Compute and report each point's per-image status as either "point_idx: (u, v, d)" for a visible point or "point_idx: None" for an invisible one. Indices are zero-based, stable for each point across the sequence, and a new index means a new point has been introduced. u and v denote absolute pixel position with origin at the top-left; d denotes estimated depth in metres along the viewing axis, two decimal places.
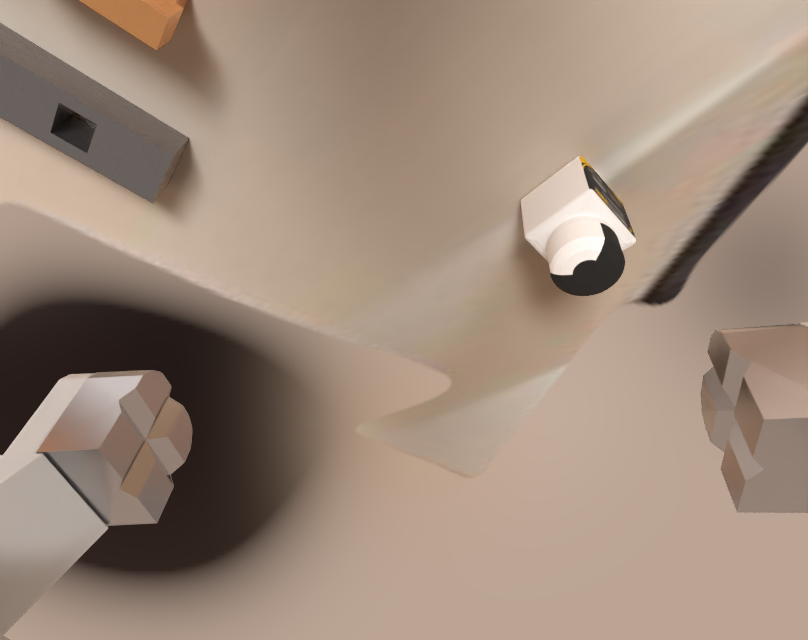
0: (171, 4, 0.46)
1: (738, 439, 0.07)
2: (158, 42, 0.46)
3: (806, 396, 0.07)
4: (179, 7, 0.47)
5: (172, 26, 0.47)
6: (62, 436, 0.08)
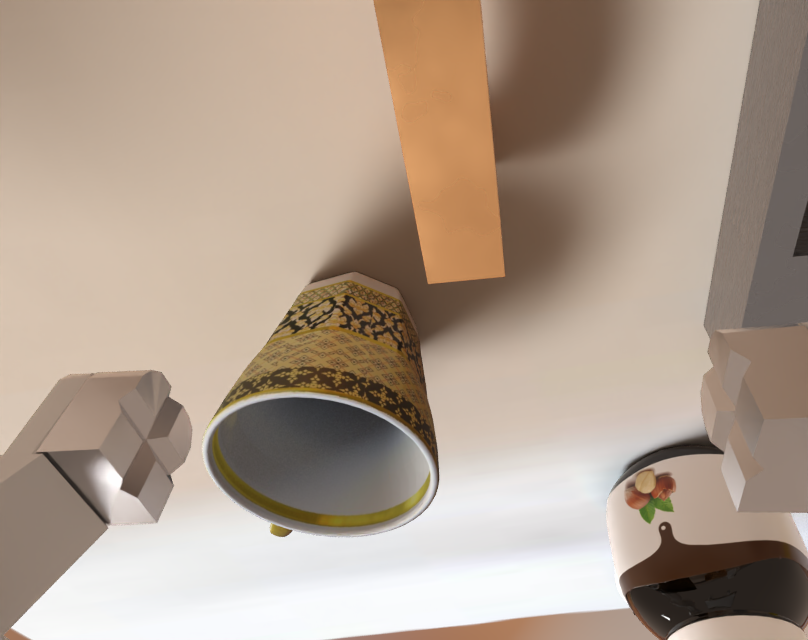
0: None
1: (738, 439, 0.07)
2: None
3: (806, 396, 0.07)
4: None
5: None
6: (63, 436, 0.08)
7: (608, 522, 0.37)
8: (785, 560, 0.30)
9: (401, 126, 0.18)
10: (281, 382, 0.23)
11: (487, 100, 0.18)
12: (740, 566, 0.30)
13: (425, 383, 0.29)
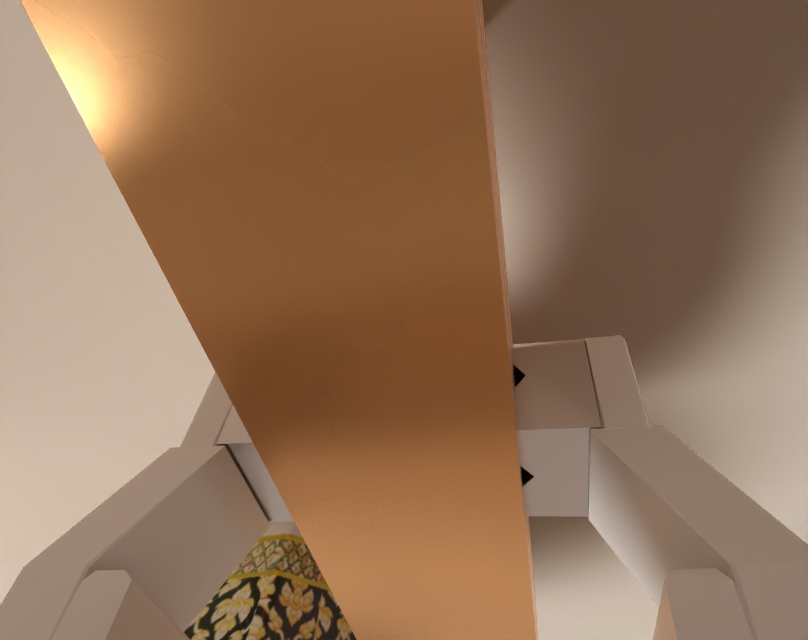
0: None
1: None
2: None
3: (559, 409, 0.07)
4: None
5: None
6: (242, 427, 0.08)
7: None
8: None
9: (315, 545, 0.08)
10: None
11: (521, 525, 0.07)
12: None
13: None
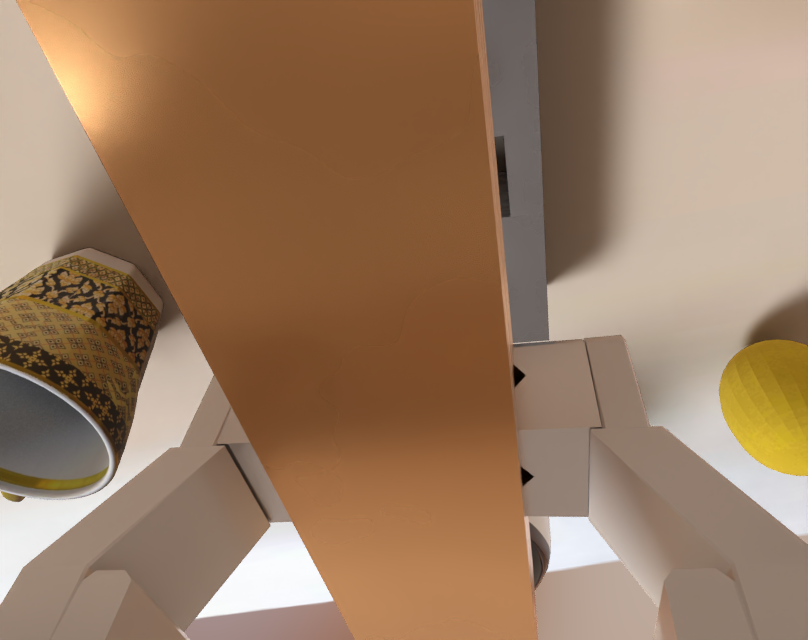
0: None
1: None
2: None
3: (559, 409, 0.07)
4: None
5: None
6: None
7: None
8: None
9: (314, 547, 0.08)
10: None
11: (521, 528, 0.07)
12: None
13: (144, 353, 0.31)
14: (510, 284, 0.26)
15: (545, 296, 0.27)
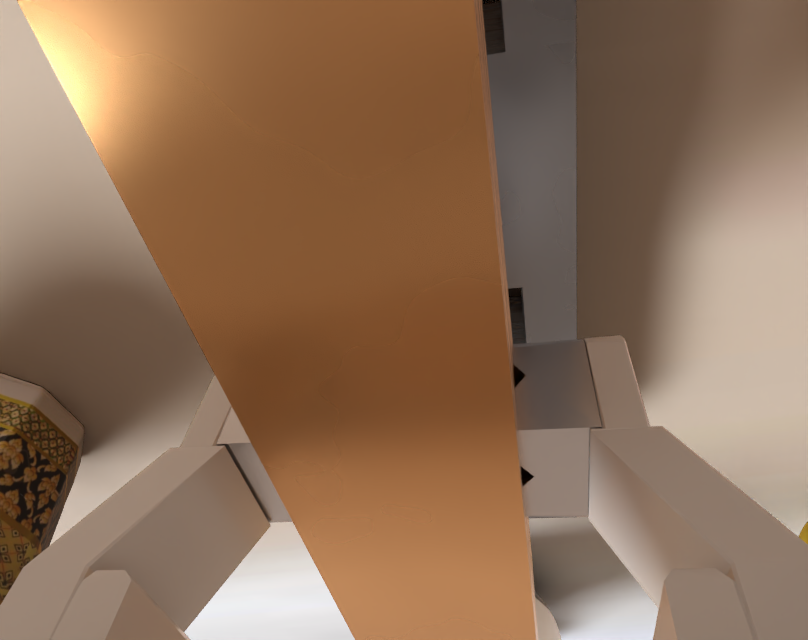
0: None
1: None
2: None
3: (559, 409, 0.07)
4: None
5: None
6: (242, 427, 0.08)
7: None
8: None
9: (315, 547, 0.08)
10: None
11: (521, 527, 0.07)
12: None
13: (49, 513, 0.24)
14: None
15: None
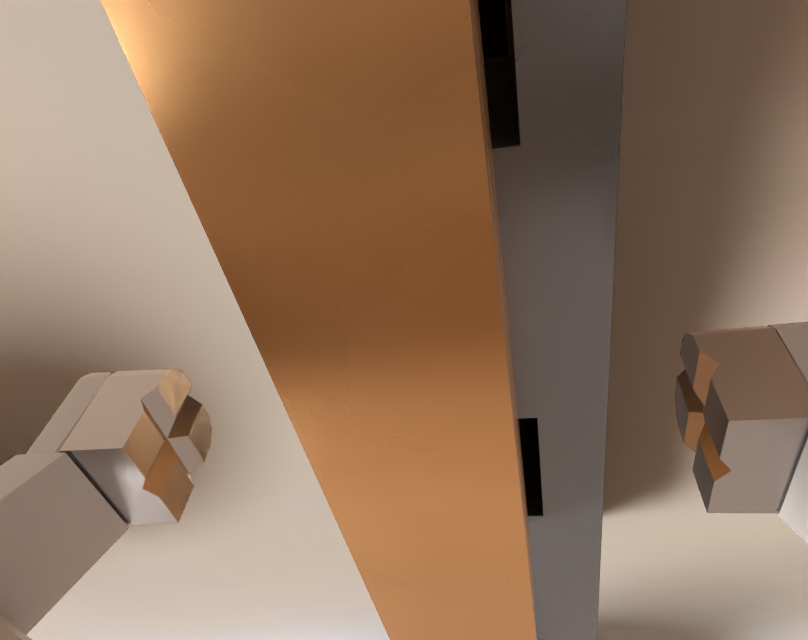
0: None
1: (708, 440, 0.07)
2: None
3: (771, 398, 0.07)
4: None
5: None
6: (85, 435, 0.08)
7: None
8: None
9: (326, 481, 0.09)
10: None
11: (514, 457, 0.08)
12: None
13: None
14: (538, 587, 0.16)
15: (595, 603, 0.16)
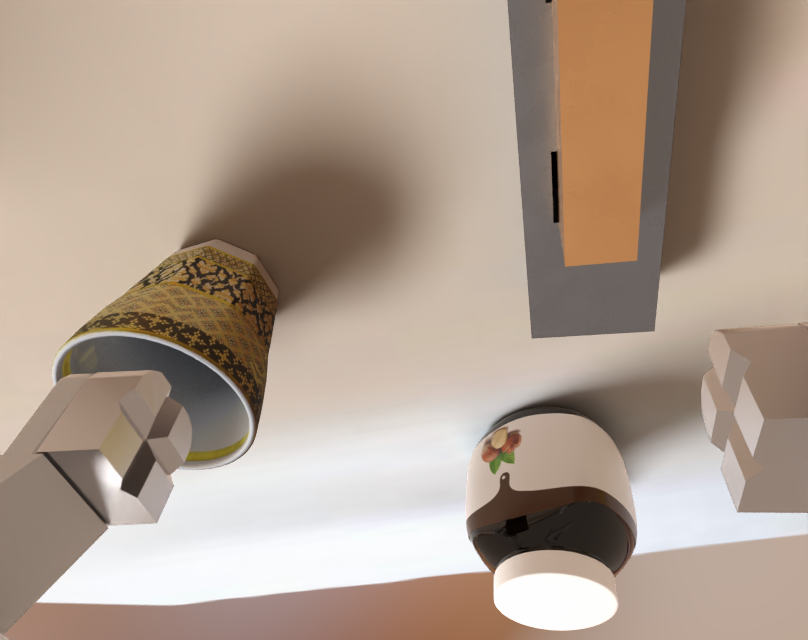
0: None
1: (738, 439, 0.07)
2: None
3: (806, 396, 0.07)
4: None
5: None
6: (63, 436, 0.08)
7: (467, 475, 0.41)
8: (594, 503, 0.33)
9: (564, 125, 0.21)
10: (106, 324, 0.27)
11: (645, 103, 0.20)
12: (554, 508, 0.34)
13: (270, 337, 0.33)
14: (624, 278, 0.28)
15: (656, 290, 0.28)
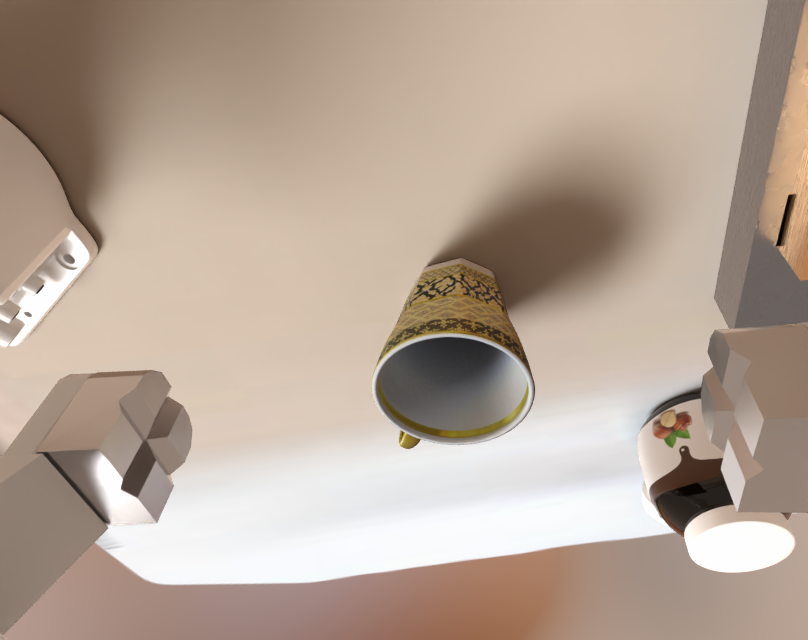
0: None
1: (738, 439, 0.07)
2: None
3: (806, 396, 0.07)
4: None
5: None
6: (63, 436, 0.08)
7: (639, 450, 0.49)
8: None
9: None
10: (436, 327, 0.34)
11: None
12: None
13: None
14: None
15: None
